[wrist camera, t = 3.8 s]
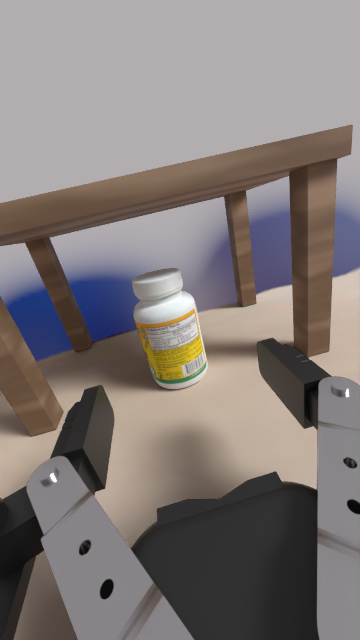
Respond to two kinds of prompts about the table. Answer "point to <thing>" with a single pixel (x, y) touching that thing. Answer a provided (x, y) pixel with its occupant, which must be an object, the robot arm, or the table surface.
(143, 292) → the supplement bottle
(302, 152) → the walnut shelf
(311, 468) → the table surface
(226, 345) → the table surface
